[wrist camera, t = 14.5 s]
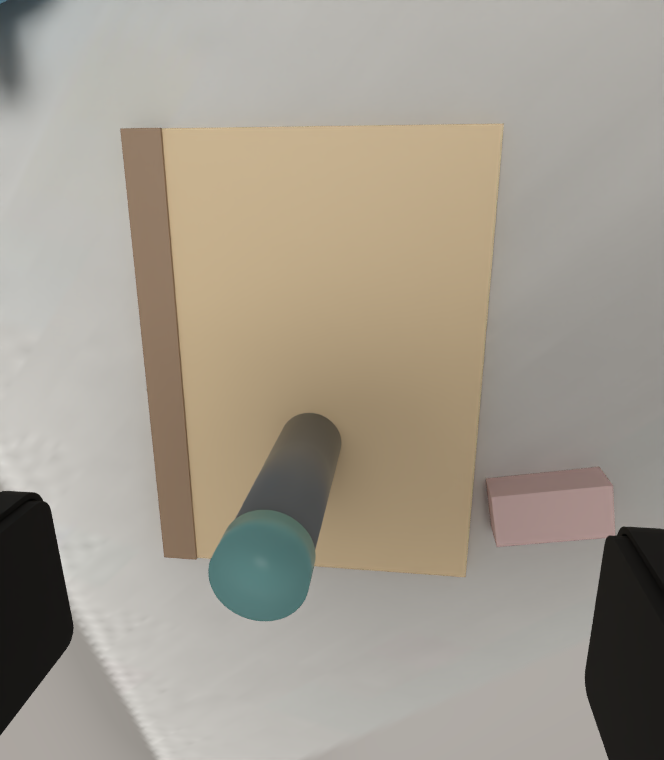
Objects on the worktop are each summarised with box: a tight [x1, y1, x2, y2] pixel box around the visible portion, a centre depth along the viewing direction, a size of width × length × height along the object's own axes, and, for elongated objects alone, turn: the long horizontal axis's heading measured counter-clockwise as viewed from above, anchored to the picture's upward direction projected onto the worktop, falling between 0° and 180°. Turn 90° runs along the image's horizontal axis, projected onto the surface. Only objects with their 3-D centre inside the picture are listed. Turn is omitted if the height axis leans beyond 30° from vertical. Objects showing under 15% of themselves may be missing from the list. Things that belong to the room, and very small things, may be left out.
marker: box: [209, 413, 341, 621], centre depth 26 cm, size 4×4×12 cm
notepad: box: [120, 124, 504, 577], centre depth 30 cm, size 18×24×1 cm
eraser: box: [486, 467, 615, 547], centre depth 31 cm, size 6×3×2 cm, turn 100°
